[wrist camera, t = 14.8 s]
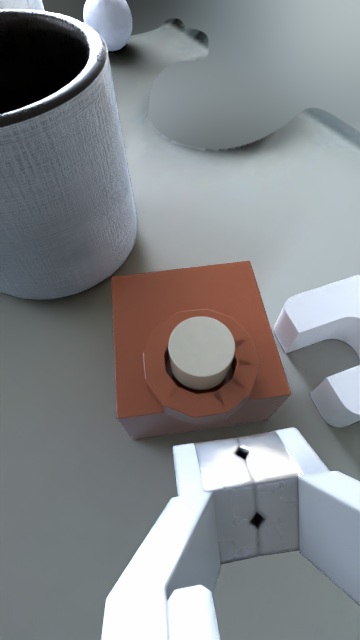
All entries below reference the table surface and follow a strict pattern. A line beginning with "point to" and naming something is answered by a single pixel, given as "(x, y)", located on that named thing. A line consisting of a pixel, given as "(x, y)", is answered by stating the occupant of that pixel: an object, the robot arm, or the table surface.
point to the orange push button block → (153, 355)
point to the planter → (59, 159)
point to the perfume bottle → (109, 21)
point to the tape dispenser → (320, 324)
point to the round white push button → (201, 352)
